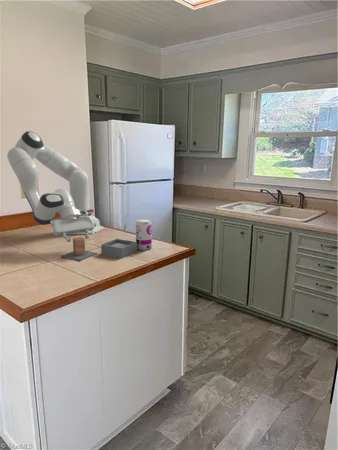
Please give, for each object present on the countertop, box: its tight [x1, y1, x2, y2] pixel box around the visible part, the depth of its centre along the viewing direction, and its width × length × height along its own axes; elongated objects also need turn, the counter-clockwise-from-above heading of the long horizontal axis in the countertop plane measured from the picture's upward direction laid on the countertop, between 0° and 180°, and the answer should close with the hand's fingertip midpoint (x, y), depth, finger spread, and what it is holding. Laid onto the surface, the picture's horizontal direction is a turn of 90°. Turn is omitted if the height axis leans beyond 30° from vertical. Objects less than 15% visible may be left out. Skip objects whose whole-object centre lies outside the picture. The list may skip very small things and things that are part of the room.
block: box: [72, 236, 86, 256], centre depth 162 cm, size 4×4×8 cm
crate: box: [100, 238, 138, 259], centre depth 167 cm, size 13×13×6 cm
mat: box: [60, 250, 98, 262], centre depth 163 cm, size 12×12×1 cm
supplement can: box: [135, 218, 153, 251], centre depth 174 cm, size 8×8×15 cm
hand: (78, 239), depth 163 cm, fingers open, 8 cm apart
